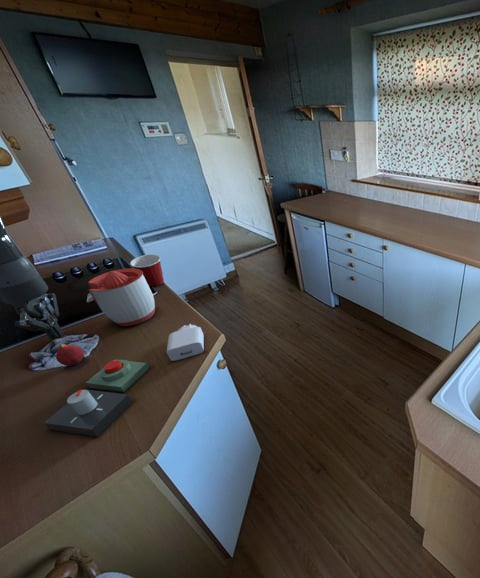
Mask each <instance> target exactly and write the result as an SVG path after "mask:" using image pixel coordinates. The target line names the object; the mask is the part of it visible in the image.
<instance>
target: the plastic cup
mask: <svg viewBox="0 0 480 578" xmlns="http://www.w3.org/2000/svg"><path fill="white" fill-rule="evenodd" d="M161 258H162V257H161V255H159V254H151V253H149V254H144V255H140V256H137V257H135V258H133V259H132V260H131V261H130V262H129V265H130V266H131V267H132V268H135V269H140V270H141V271H142V272H143V276H144V278H145V280H146V282H147V284H148V286H149V287H158V286H161V285H162V284H164V282H165V281H164V274H163V270H162V265H161V264H162V263H161Z"/></svg>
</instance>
